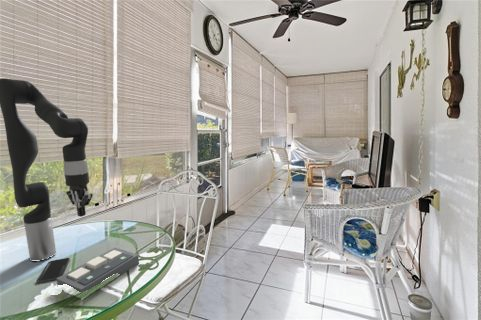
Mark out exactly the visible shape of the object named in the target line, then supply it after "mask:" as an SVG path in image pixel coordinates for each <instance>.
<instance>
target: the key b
mask: <svg viewBox="0 0 481 320" xmlns="http://www.w3.org/2000/svg"><path fill="white" fill-rule="evenodd" d="M99 256H100V255H98V256H96V257H94V258H93V259H91V260H89V261H86V262H85V263H86V264H87V268H90V269H92V270H97V269H98V268H100V267H102V266H104V265H105V264H107V259H105V258H102V257H99Z"/></svg>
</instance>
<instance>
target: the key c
mask: <svg viewBox="0 0 481 320" xmlns="http://www.w3.org/2000/svg"><path fill="white" fill-rule="evenodd" d="M121 255H122V252H119V251H116V250H113V251H111V252H109V253H107V254H106V255H104V256H103V258H105V259H107V260H110V261H112V260H114V259H116V258H118V257H119V256H121Z"/></svg>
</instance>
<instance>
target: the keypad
mask: <svg viewBox="0 0 481 320" xmlns="http://www.w3.org/2000/svg"><path fill="white" fill-rule="evenodd" d="M113 250H116V251H119V252H122V255H121V256H119V257H118V258H116V259H114V260H112V261H110V260H107V264H105V265H104V266H102V267H100V268H98V269H97V270H92V269H90V268H87V264H86V263H87V262H84V263H83V264H80V266H77V267H76V268H73V269H72V270H70V271H68V272H65V273H64V274H63V275H62V276H60V277H58V278H57V280H56V284H57V286H58V285H63V284H67V285H69V286H71V287H73V288H74V289H76V290H77V291H79V292H83V291H86V290H89V289H91V288H92V287H94V286H96V285H98V284H100V283H101V282H102V281H103V280H105V279H106V278H108V277H110V276H112V275H113V274H116V273H118V274H120V276H119V277H121V276H122V275H123V274H125V273H127V272H128V271H130V270H131V269H133V268H134V267H136V266H138V265H139V264H140V260H139V258H140V257H139V254H137V253H135V252H131V251H127V250H124V249H121V248H118V247H114V248H112V249H110V250H107V251H105V252H104V253H102V254H100V255H98V256H99V257H102V258H103V256H104V255H106V254H107V253H109V252H111V251H113ZM81 267H82V268H84V269H87V270H90V274H88V275H86V276H84V277H83V278H81V279H79V280H77V281H74V280H72V279H70V278H68V274H70V273H72V272H74V271H76V270H77V269H79V268H81Z"/></svg>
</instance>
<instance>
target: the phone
mask: <svg viewBox="0 0 481 320" xmlns="http://www.w3.org/2000/svg"><path fill="white" fill-rule="evenodd" d="M70 261H71V258H70V257H66V258H65V257H64V258H60V259H54V260H50V261H48V262H47V263H46V265H45V267H44V268H43V270H42V272H41V273H40V275H39V277H38V278H37V280H36V283H37V284H44V283H48V282H53V281H57V278H58V277H60V276H62V275H64V274H65V273H66V270H67V268H68V265H69V264H70Z"/></svg>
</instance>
